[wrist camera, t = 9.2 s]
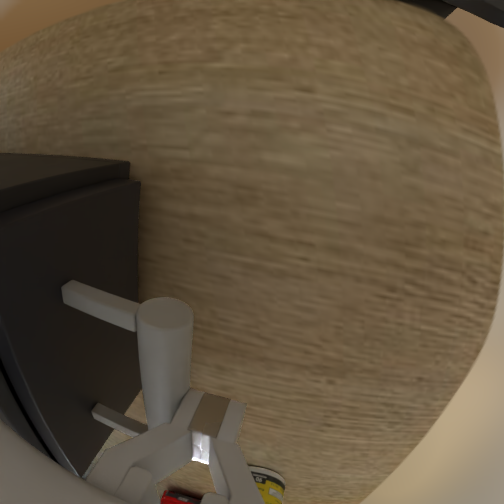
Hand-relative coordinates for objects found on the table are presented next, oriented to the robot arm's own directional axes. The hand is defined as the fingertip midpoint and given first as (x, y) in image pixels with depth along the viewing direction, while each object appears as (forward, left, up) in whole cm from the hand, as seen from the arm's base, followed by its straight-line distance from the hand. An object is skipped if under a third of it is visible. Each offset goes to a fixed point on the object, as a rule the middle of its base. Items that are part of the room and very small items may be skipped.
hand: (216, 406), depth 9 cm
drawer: (0, -9, -4) cm, 10 cm away
